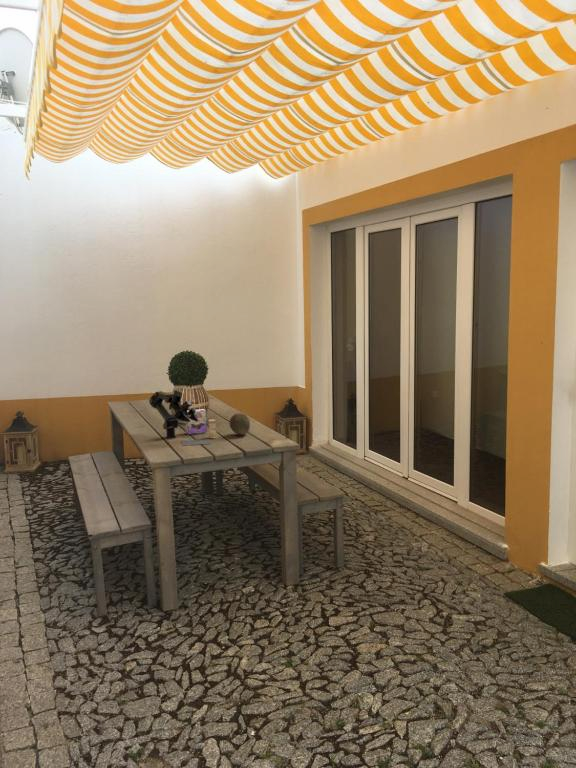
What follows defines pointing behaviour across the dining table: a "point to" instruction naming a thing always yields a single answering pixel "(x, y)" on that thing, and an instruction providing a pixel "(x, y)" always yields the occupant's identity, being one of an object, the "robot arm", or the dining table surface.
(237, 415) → the cantaloupe
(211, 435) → the birch block
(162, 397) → the robot arm
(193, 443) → the rubber mat
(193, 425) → the candy box
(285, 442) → the dining table surface
